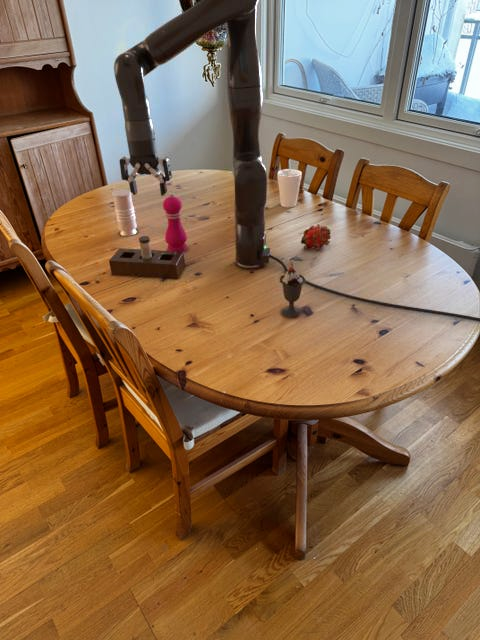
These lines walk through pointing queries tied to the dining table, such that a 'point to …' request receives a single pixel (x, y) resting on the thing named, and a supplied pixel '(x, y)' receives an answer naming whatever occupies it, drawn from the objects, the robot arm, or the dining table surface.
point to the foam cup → (289, 186)
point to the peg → (145, 247)
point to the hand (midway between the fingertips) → (149, 194)
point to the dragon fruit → (316, 237)
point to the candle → (124, 212)
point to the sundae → (292, 290)
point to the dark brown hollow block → (147, 263)
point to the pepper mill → (174, 224)
